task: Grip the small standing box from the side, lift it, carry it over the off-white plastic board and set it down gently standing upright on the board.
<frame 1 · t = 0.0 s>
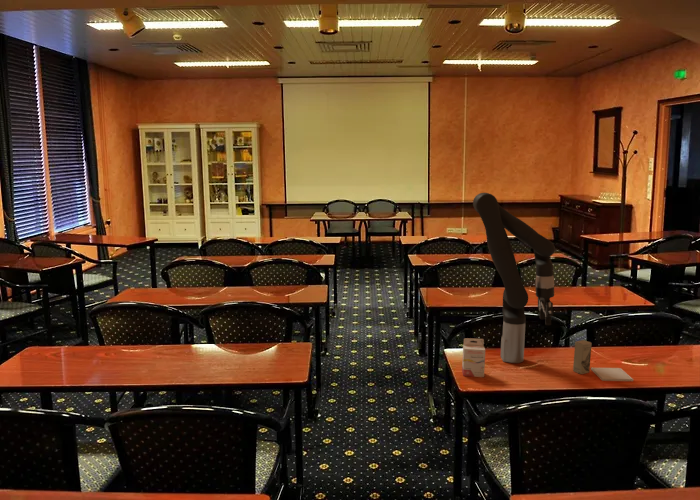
hand: (545, 322, 240), 17 cm above the table, tool pointing down, fingers open, 8 cm apart
ink cartridge box: (473, 375, 227), on the table
board: (611, 375, 226), on the table
box: (581, 372, 229), on the table
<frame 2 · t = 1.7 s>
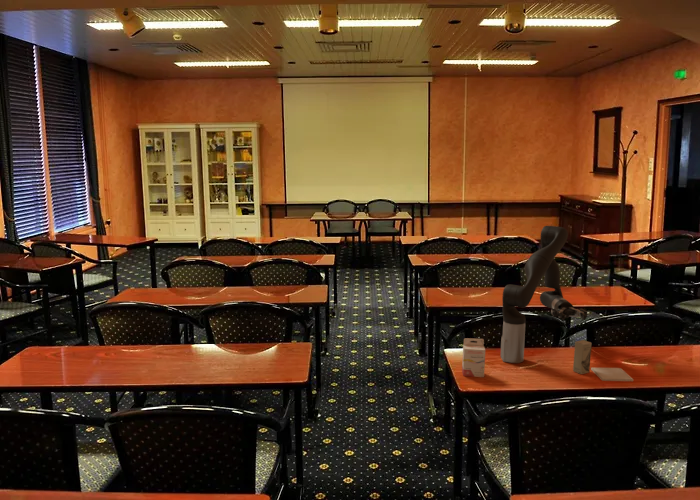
hand: (574, 317, 238), 20 cm above the table, tool horizontal, fingers open, 8 cm apart
nothing on the table moved.
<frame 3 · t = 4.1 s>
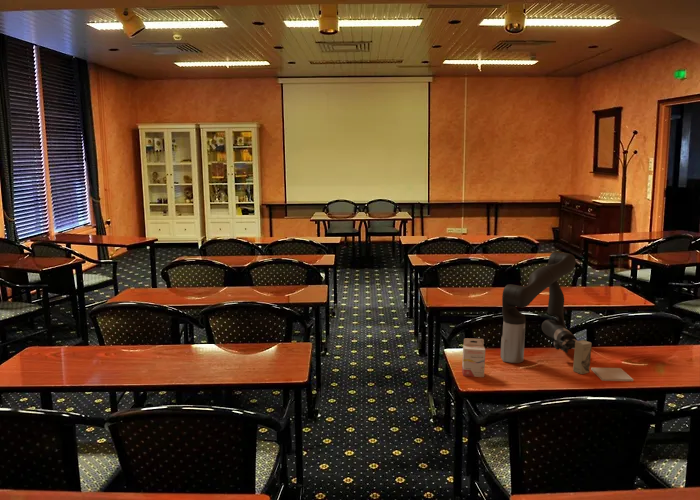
hand: (577, 350, 234), 7 cm above the table, tool horizontal, fingers open, 8 cm apart
nothing on the table moved.
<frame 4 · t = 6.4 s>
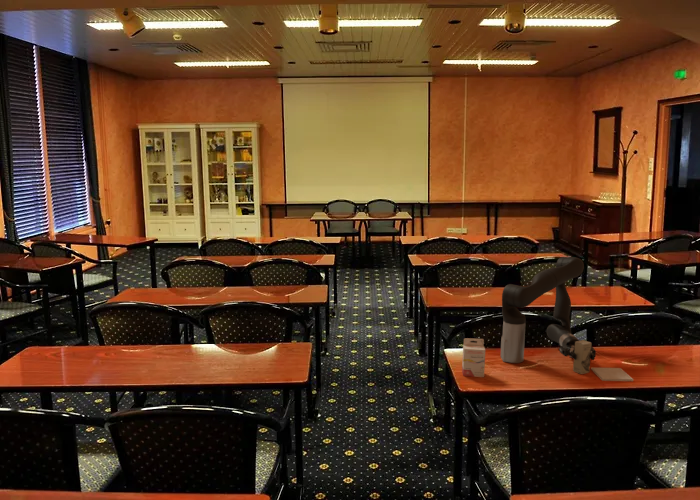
hand: (584, 357, 226), 7 cm above the table, tool horizontal, fingers closed on box, 6 cm apart
box: (581, 372, 229), on the table, touching gripper
everything else where it was.
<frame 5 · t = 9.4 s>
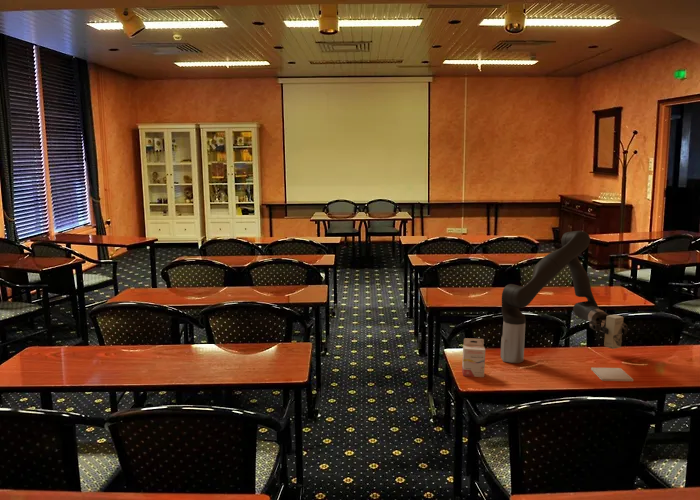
hand: (616, 331, 221), 19 cm above the table, tool horizontal, fingers closed on box, 6 cm apart
box: (612, 347, 225), point 11 cm above the table, touching gripper
everything else where it was.
when the fingers open (9 cm above the table, at t = 12.3 s): box stays where it is, resting on board.
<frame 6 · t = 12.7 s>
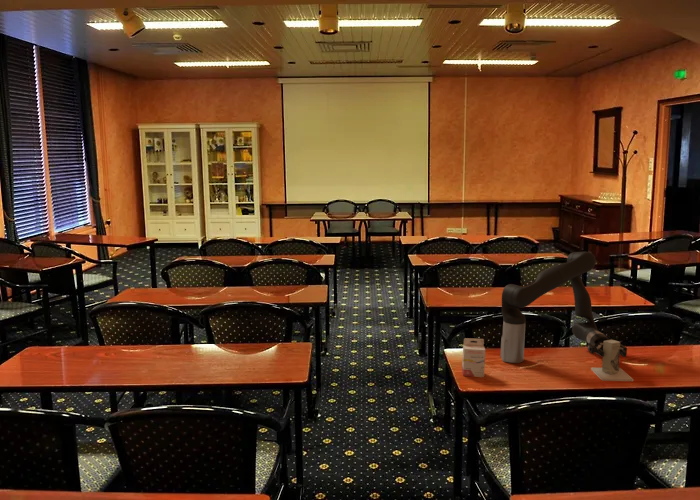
hand: (614, 354, 223), 9 cm above the table, tool horizontal, fingers open, 8 cm apart
box: (610, 372, 227), point 1 cm above the table, touching board
everything else where it was.
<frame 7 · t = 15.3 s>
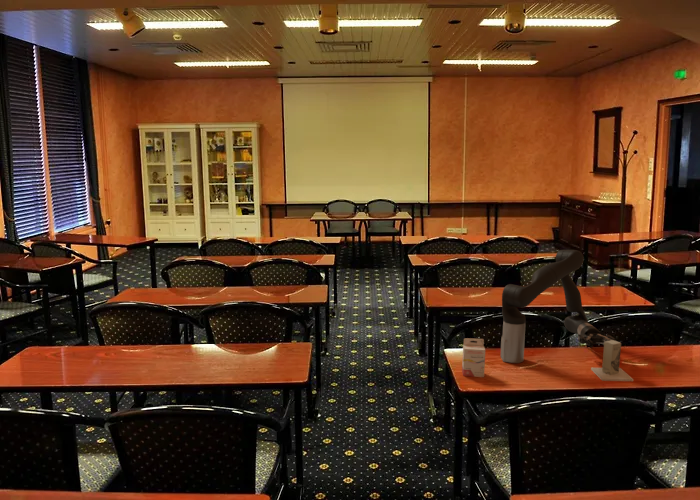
hand: (602, 345, 235), 9 cm above the table, tool horizontal, fingers open, 8 cm apart
nothing on the table moved.
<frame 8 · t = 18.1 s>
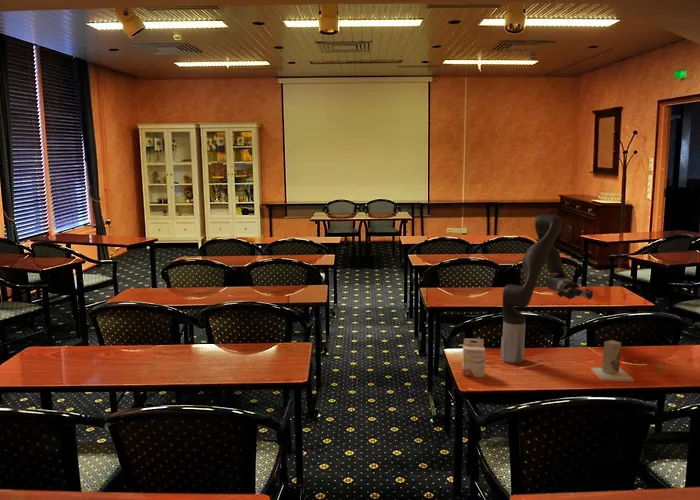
hand: (580, 296, 239), 28 cm above the table, tool horizontal, fingers open, 8 cm apart
nothing on the table moved.
at the end: box inside the target area on the board (0.7 cm from its centre), point 0.6 cm above the board's base; box tilted 0°; the gripper is holding nothing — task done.
